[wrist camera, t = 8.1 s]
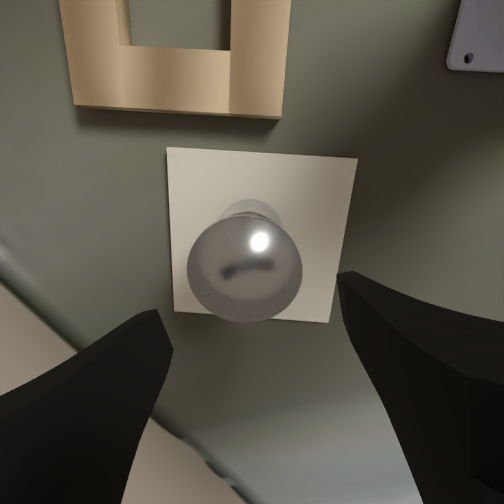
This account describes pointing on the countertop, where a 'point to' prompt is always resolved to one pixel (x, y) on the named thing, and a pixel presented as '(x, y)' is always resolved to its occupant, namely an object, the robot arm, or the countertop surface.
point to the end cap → (245, 264)
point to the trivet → (274, 194)
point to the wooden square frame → (177, 63)
